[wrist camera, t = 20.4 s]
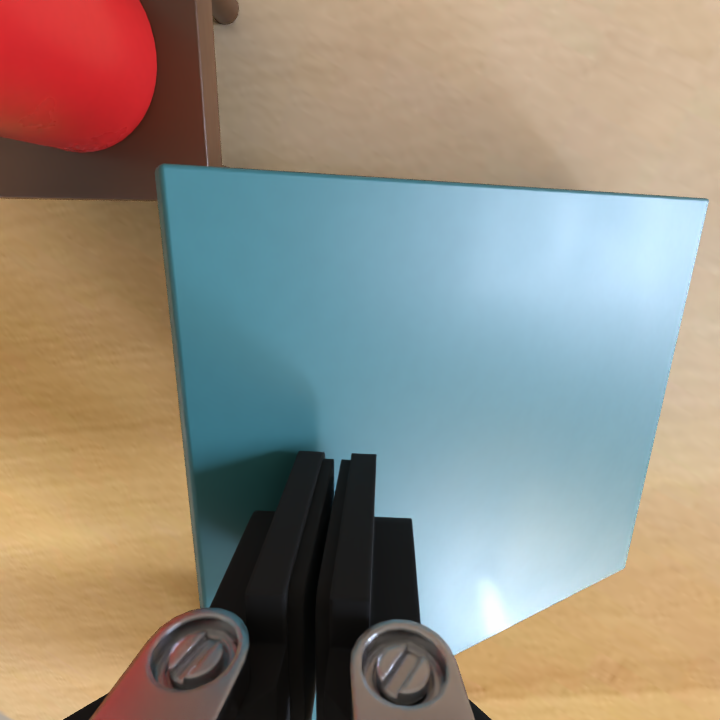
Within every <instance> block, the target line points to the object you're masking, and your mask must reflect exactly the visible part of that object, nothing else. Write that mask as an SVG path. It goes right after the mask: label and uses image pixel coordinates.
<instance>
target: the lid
mask: <svg viewBox="0 0 720 720" xmlns="http://www.w3.org/2000/svg"><path fill="white" fill-rule="evenodd" d="M155 181H156V190H157V200H158V209H159V219H160V229H161V238H162V248H163V257H164V267H165V276H166V286H167V295H168V305H169V314H170V324H171V333H172V343H173V353H174V362H175V372H176V381H177V391H178V400H179V410H180V419H181V429H182V438H183V448H184V457H185V467H186V477H187V486H188V496H189V505H190V515H191V524H192V534H193V543H194V553H195V562H196V572H197V581H198V591H199V601H200V609H201V608H206V607H207V608H209V607H210V605H211V603H212V601H213V599H214V596H215V594H216V592H217V590H218V588H219V585H220V583H221V581H222V579H223V577H224V575H225V572H226V570H227V568H228V566H229V564H230V561H231V559H232V557H233V555H234V553H235V550H236V548H237V546H238V544H239V542H240V539H241V537H242V535H243V533H244V531H245V529H246V526H247V524H248V522H249V520H250V518H251V516H252V514H253V512H254V511H256V510H259V511H276V509H277V507H278V504H279V501H280V499H281V496H282V493H283V491H284V488H285V485H286V483H287V480H288V478H289V475H290V472H291V470H292V467H293V464H294V462H295V459H296V457H297V454H298V452H299V451H316V452H325V459H334V495H335V490H336V485H337V479H338V474H339V469H340V464H341V460H342V459H344V460H351V454H352V453H360V454H377V458H376V487H375V517H394V518H411V519H412V525H413V536H414V548H415V560H416V572H417V584H418V596H419V608H420V620H421V624H423V625H425V626H427V627H428V628H430V629H432V630H433V631H435V632H436V633H438V634H439V635H440V636H441V637H442V639H443V640H444V641H445V642H446V643H447V644H448V645H449V647H450V649H451V651H452V653H453V655H456V654H458V653H460V652H462V651H464V650H466V649H468V648H470V647H472V646H473V645H475V644H477V643H479V642H481V641H483V640H485V639H487V638H489V637H491V636H493V635H495V634H497V633H499V632H501V631H503V630H505V629H507V628H509V627H511V626H513V625H515V624H516V623H518V622H520V621H522V620H524V619H526V618H528V617H530V616H532V615H534V614H536V613H538V612H540V611H542V610H544V609H546V608H548V607H550V606H552V605H554V604H556V603H558V602H560V601H561V600H563V599H565V598H567V597H569V596H571V595H573V594H575V593H577V592H579V591H581V590H583V589H585V588H587V587H589V586H591V585H593V584H595V583H597V582H599V581H601V580H603V579H604V578H606V577H608V576H610V575H612V574H614V573H616V572H618V571H620V570H622V569H624V568H625V564H626V560H627V556H628V551H629V547H630V542H631V538H632V534H633V529H634V525H635V521H636V516H637V512H638V508H639V503H640V499H641V494H642V490H643V486H644V481H645V477H646V473H647V468H648V464H649V460H650V455H651V451H652V447H653V442H654V438H655V433H656V429H657V425H658V420H659V416H660V412H661V407H662V403H663V399H664V394H665V390H666V385H667V381H668V377H669V372H670V368H671V364H672V359H673V355H674V351H675V346H676V342H677V337H678V333H679V329H680V324H681V320H682V316H683V311H684V307H685V303H686V298H687V294H688V290H689V285H690V281H691V276H692V272H693V268H694V263H695V259H696V255H697V250H698V246H699V242H700V237H701V233H702V228H703V224H704V220H705V215H706V211H707V207H708V202H709V201H708V199H706V198H691V197H675V196H660V195H644V194H629V193H614V192H598V191H583V190H567V189H552V188H536V187H521V186H505V185H490V184H475V183H459V182H444V181H428V180H413V179H397V178H382V177H366V176H351V175H336V174H320V173H305V172H289V171H274V170H258V169H243V168H228V167H212V166H197V165H181V164H166V163H164V164H161V165H159V166H158V167H157V168H156V170H155ZM312 720H316V694H315V700H314V707H313V714H312Z"/></svg>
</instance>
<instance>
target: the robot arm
mask: <svg viewBox="0 0 720 720" xmlns="http://www.w3.org/2000/svg"><path fill="white" fill-rule="evenodd" d="M376 458H377V454H360V453H352V454H351V460H344V459H342V460H341V464H340V469H339V474H338V479H337V485H336V490H335V495H334V459H325V452H316V451H299V452H298V454H297V457H296V459H295V462H294V464H293V467H292V470H291V472H290V475H289V478H288V480H287V483H286V485H285V488H284V491H283V493H282V496H281V499H280V501H279V504H278V507H277V509H276V511H259V510H256V511H254V512H253V514H252V516H251V518H250V520H249V522H248V524H247V526H246V529H245V531H244V533H243V535H242V537H241V539H240V542H239V544H238V546H237V548H236V550H235V553H234V555H233V557H232V559H231V561H230V564H229V566H228V568H227V570H226V572H225V575H224V577H223V579H222V581H221V583H220V585H219V588H218V590H217V592H216V594H215V596H214V599H213V601H212V603H211V605H210V607H209V608H207V607H206V608H201V609H195V610H190V611H188V612H186V613H183V614H181V615H179V616H176V617H174V618H173V619H171V620H170V621H168V622H167V623H165V624H164V625H163V626H161V627H160V628H159V629H158V630H157V631H156V632H155V633H154V634H153V635H152V636H151V638H150V639H149V640H148V641H147V642H146V644H145V645H144V646H143V648H142V649H141V650H140V652H139V653H138V654H137V656H136V657H135V658H134V660H133V661H132V663H131V664H130V665H129V667H128V668H127V669H126V671H125V672H124V673H123V675H122V676H121V677H120V679H119V680H118V681H117V683H116V684H115V685H114V687H113V688H112V689H111V691H110V692H109V693H108V694H106V695H104V696H103V697H101V698H99V699H97V700H96V701H94V702H92V703H91V704H89V705H87V706H86V707H84V708H82V709H80V710H79V711H77V712H75V713H74V714H72V715H70V716H69V717H67V718H65V719H63V720H312V714H313V707H314V700H315V694H316V720H491V719H490V718H489V717H488V716H487V715H486V714H485V713H484V712H483V711H481V710H480V709H479V708H478V707H477V706H476V705H475V704H474V703H473V702H471V701H470V700H469V699H468V696H467V693H466V690H465V687H464V684H463V680H462V677H461V674H460V671H459V668H458V665H457V662H456V659H455V657H454V655H453V653H452V651H451V649H450V647H449V645H448V644H447V643H446V642H445V641H444V640H443V639H442V637H441V636H440V635H439V634H438V633H436V632H435V631H433V630H432V629H430V628H428V627H427V626H425V625H423V624H421V620H420V608H419V596H418V584H417V572H416V560H415V548H414V536H413V525H412V519H411V518H394V517H375V487H376Z"/></svg>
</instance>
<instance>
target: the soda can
mask: <svg viewBox="0 0 720 720" xmlns="http://www.w3.org/2000/svg"><path fill="white" fill-rule="evenodd" d="M156 75H157V55H156V48H155V41H154V37H153V33H152V29H151V26H150V23H149V20H148V18H147V15H146V12H145V10H144V8H143V6H142V4H141V2H140V1H139V0H0V137H4V138H9V139H13V140H18V141H23V142H28V143H33V144H37V145H42V146H47V147H52V148H57V149H62V150H66V151H71V152H94V151H99V150H103V149H106V148H108V147H111V146H113V145H115V144H117V143H119V142H120V141H122V140H123V139H125V138H126V137H127V136H128V135H129V134H131V133H132V132H133V130H134V129H135V128H136V127H137V126H138V125H139V123H140V122H141V120H142V119H143V117H144V116H145V114H146V112H147V110H148V108H149V106H150V103H151V100H152V97H153V94H154V89H155V84H156Z"/></svg>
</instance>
